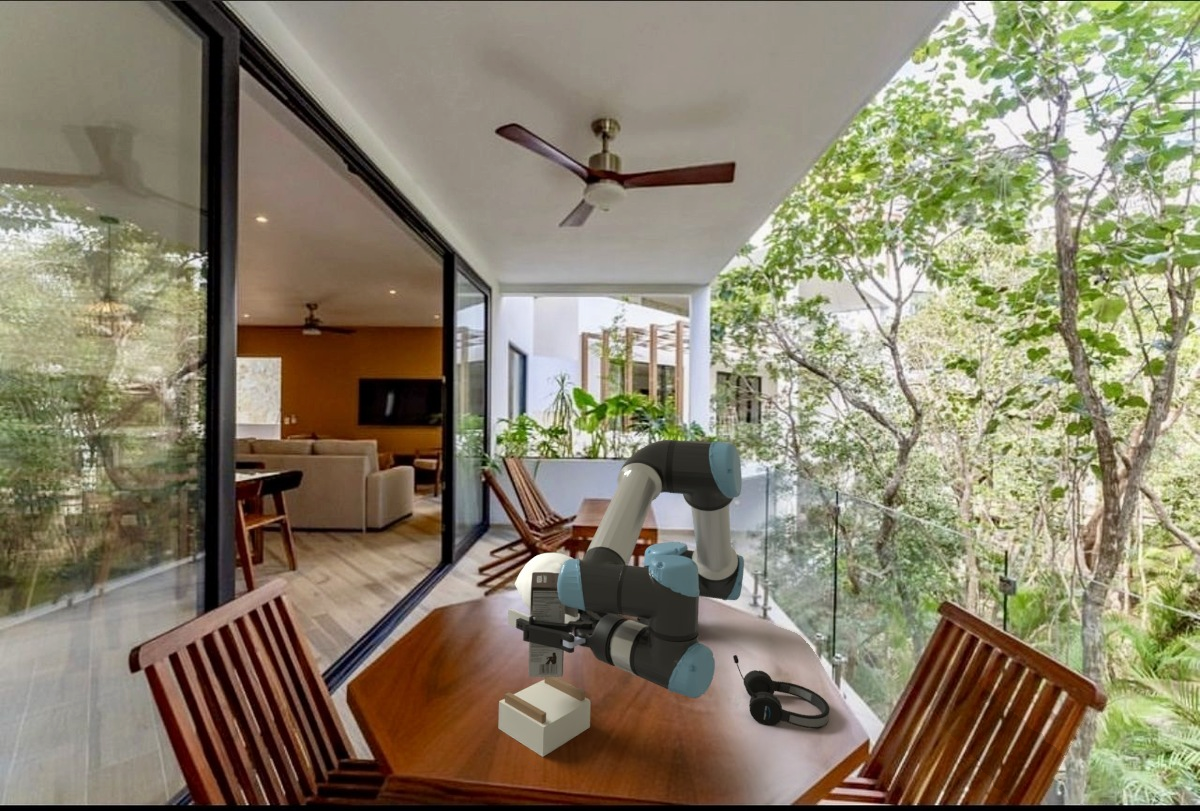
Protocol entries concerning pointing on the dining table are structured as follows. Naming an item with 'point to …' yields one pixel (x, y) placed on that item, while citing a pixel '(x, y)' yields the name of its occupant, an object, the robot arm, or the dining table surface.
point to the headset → (770, 708)
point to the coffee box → (549, 610)
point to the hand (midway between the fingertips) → (532, 608)
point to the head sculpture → (540, 564)
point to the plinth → (545, 714)
